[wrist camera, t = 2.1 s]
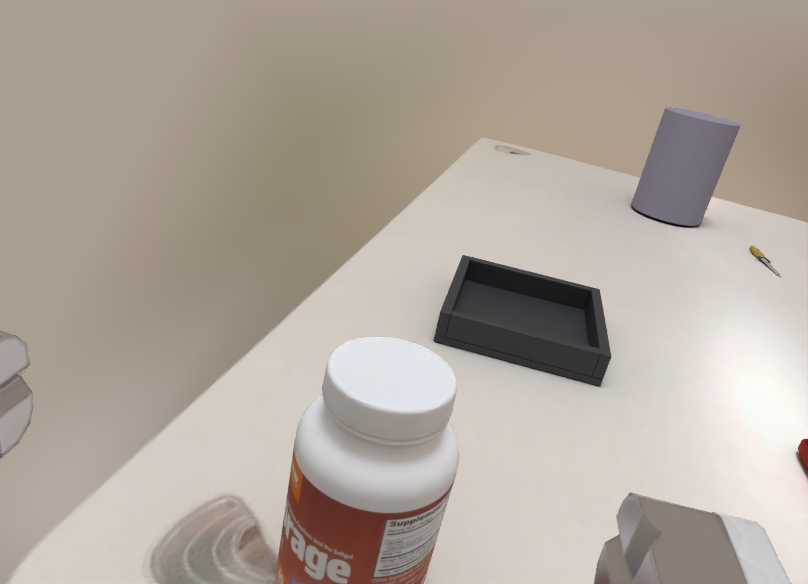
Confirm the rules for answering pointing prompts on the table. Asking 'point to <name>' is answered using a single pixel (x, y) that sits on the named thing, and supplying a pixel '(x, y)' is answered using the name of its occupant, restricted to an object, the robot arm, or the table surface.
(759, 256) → the dagger
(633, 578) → the robot arm
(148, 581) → the table surface
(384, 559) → the pill bottle
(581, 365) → the dark shallow tray
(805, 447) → the cell phone
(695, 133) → the container
